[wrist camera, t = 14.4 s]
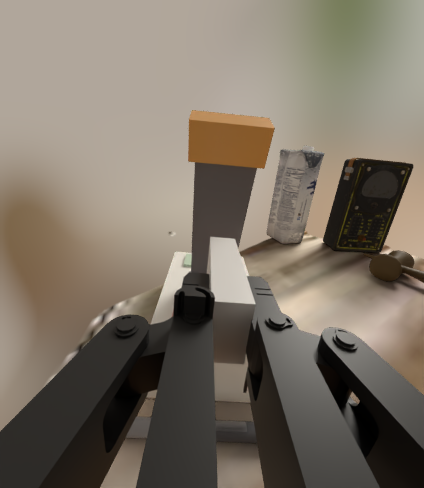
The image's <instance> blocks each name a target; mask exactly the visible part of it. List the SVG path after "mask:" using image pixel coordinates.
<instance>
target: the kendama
mask: <svg viewBox="0 0 424 488" xmlns="http://www.w3.org/2000/svg"><path fill="white" fill-rule="evenodd" d="M364 255H365V256H367V257H369V258H372V260H371V262H370V266H369V268H370V272H371V273H372V274H373V275H374V276H375V277H377V278H379V279H381V280H384V281H393V280H395V279H397V278H398V277H399V276H400V274H403V273H406V274H408V275H410V276H412V277H414V278H416V279H418V280H420V281H421V282H423V283H424V272H423V271H420V270H416V269H412V268H413V266H414V259H413V257H412V256H411V255H410V254H408V253H406V252H403V251H392V252H391V253H389V254H388V255H387V254H378V255H377V256H374V255H371V254H368V253H364Z"/></svg>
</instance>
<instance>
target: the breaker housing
mask: <svg viewBox="0 0 424 488" xmlns="http://www.w3.org/2000/svg"><path fill="white" fill-rule="evenodd" d="M191 259H192V253H187V252H175V254H174V257H173V260H172V263H171V266H170V269H169V272H168V275H167V277H166V280H165V283H164V286H163V289H162V292H161V295H160V298H159V301H158V304H157V306H156V309H155V312H154V315H153V318H152V321H151V324H156V323H160V322H164V321H166V320H168V319H170V318H171V317H173V312H174V294H175V293H176V291H177V290H179V289H180V288H181V287H182V282H183V278H184V276H185V275H187V274H188V273H189V272H191ZM241 259H242V263H243V266H244V269H245V272H246V275H247V276H249V274H248V271H247V268H246V265H245V262H244V259H243V257H241ZM247 367H248V361H247V356H246V357H245V363H244V364H227V363H214V384H215V401H225V402H246V403H250V397H249V391H248V387H247V392H246V393H243V389H244V382H245V377H246V372H247ZM156 393H157V390H154V391H150V392H148V394H147V397H146V398H156Z"/></svg>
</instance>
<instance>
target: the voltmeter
mask: <svg viewBox="0 0 424 488" xmlns="http://www.w3.org/2000/svg"><path fill="white" fill-rule="evenodd" d="M356 159H359V160H356ZM412 169H413V164H408V163H402V162H393V161H383V160H382V161H381V160H373V159H363V158H352V159H347V160H346V161H345V163H344V166H343V170H342V174H341V177H340V181H339V184H338V188H337V192H336V195H335V199H334V202H333V206H332V210H331V213H330V217H329V220H328V224H327V227H326V232H325V235H324V238H323V242H325V243H326V244H327V245H329V246H330V247H332V249H333V250H336V251H354V252H373V253H379V252H381V250H382V248H383V245H384V242H385V240H386V237H387V235H388V232H389V229H390V227H391V224H392V221H393V219H394V216H395V214H396V211H397V209H398V206H399V203H400V201H401V198H402V195H403V193H404V190H405V188H406V185H407V182H408V179H409V177H410V175H411V172H412Z"/></svg>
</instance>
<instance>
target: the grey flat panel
mask: <svg viewBox="0 0 424 488" xmlns="http://www.w3.org/2000/svg"><path fill="white" fill-rule="evenodd" d="M150 421H151V417H136V418H135V420H134V422H133V424H132V426H131V428H130V430H129V432H128V434H127V436H126V438H145V439H147V435H148V430H149V426H150ZM216 441H219V442H244V443H257V439H256V433H255V427H254V422H246V421H224V420H216Z"/></svg>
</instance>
